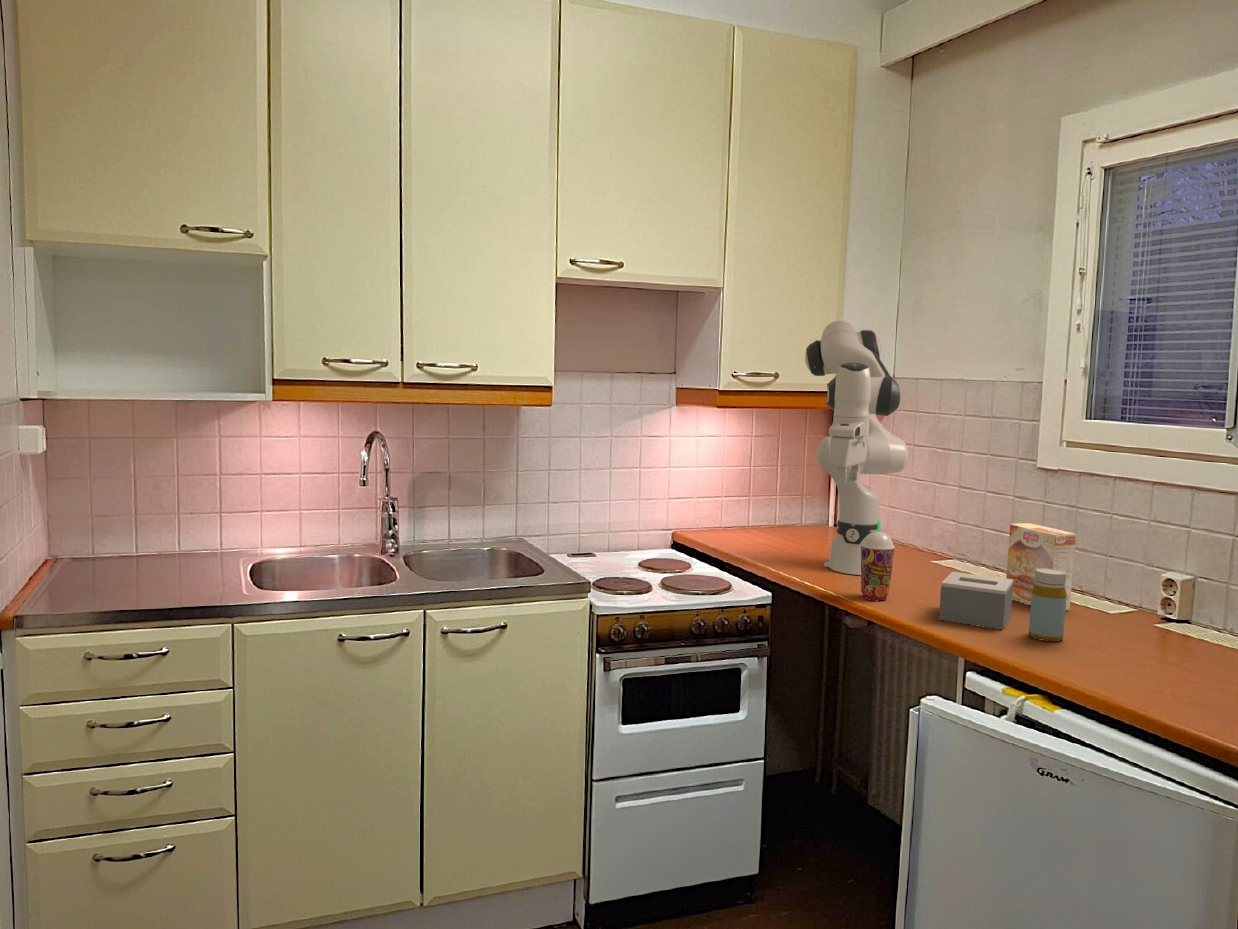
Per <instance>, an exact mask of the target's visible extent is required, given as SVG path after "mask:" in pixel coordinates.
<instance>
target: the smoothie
mask: <svg viewBox="0 0 1238 929" xmlns="http://www.w3.org/2000/svg"><path fill="white" fill-rule="evenodd" d="M881 522H882V520H879V521H878V529H877V531H875V532H871V533H870V534H868V535H867V536H866V537H865V538H864V540H863V542H862V543H861V575H860V592H861V593H862V597H863V599H865V598H867V599H870V600H869V601H871V600H884V601H886V600H887V597H888V596H889V595H890V590H891V588H890V586H891V579H892V572H893V563H894V556H895V549H896V546H895V545H894V542H893V540H892V538H891V537H890V536H889V534H887V533H885V532H883V531H881V525H880V524H881ZM867 599H866V600H867Z"/></svg>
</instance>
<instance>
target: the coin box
mask: <svg viewBox="0 0 1238 929" xmlns="http://www.w3.org/2000/svg"><path fill="white" fill-rule="evenodd" d="M1012 594H1013V579H1006V578H1004V577H995V576H990V575H989V576H988V575H983V574H982V575H981V574H974V573H966V572H958V571H952V572H951V573H949V575H947V576H946V577H945V578H944V580H942V581H941V585H940V594H939V595H940V597H939V612H938V620H939V619H940V620H945V621H944V622H947V621H951V622H950V623H953V622H957V623H956V624H960V623H962V624H961V625H966V624H973V625H979V626H984V627H983V628H986V627H991V628H990V629H992V628H996V629H995V630H999V629H1003V628H1004V629H1005V627H1006V625H1007V624H1008V622H1007V621H1009V620H1010V619H1011V617H1012V605H1013V600H1012ZM1010 616H1011V617H1010ZM1009 618H1010V619H1009ZM1008 619H1009V620H1008ZM940 620H939V621H940ZM1006 623H1007V624H1006ZM1005 624H1006V625H1005ZM973 625H972V626H973ZM979 626H978V627H979ZM1004 629H1003V630H1004Z"/></svg>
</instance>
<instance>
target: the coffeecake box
mask: <svg viewBox="0 0 1238 929" xmlns="http://www.w3.org/2000/svg"><path fill="white" fill-rule="evenodd" d="M1076 535H1077V534H1076V533H1075V532H1069V531H1065V530H1060V529H1057V528H1053V527H1049V526H1044V525H1039V524H1035V523H1031V522H1029V523H1028V522H1026V523H1018V522H1016V523H1010V524H1009V538H1008V550H1007V551H1008V552H1007V565H1006V566H1007V567H1006V578H1005V579H1013V594H1012V601H1014V600H1016V601H1015V602H1017V601H1019V602H1018V603H1020V602H1021V603H1020V604H1023V603H1024V604H1023V605H1027V606H1029V605H1031V595H1032V589H1033V587H1034V585H1035V571H1036V569H1039V568H1048V569H1056V570H1061V571H1064V572H1066V582H1065V590H1066V593H1067V599H1066V610H1068V611H1070V608H1071V595H1072V585H1073V584H1072V583H1073V571H1074V559H1075V548H1076Z"/></svg>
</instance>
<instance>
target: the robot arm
mask: <svg viewBox="0 0 1238 929" xmlns="http://www.w3.org/2000/svg"><path fill="white" fill-rule="evenodd" d="M881 353H882V344H881V341H880V339H879V337H878V336H877V335H876V333H875V332H874V331H873V330H871V329H865V330H864V329H863V330H860V331H856V329H855V328H854V327H853V326H852V325H851V324H850V323H848V321H844V320H835V321H832V322H829V324H828V325H826V326H825V327H824V330H823V331H822V334H821V339H820V340H815V341H814V342H813V341H812V343H810V344H808V346H807V347H806V348H805V353H804V354H805V355H804V360H805V361H804V362H805V365H806V367H807V369H808V370H809V371H810V373H811V374H812V375H813V376H815V377H825V376H826V375H834V374H835V376H834V377H833V378H832V379H831V380H830V381H829V382H828V383H827V384H826V385H827V387H826V388H827V393H826V394H827V395H826V402H825V404H826V406H827V407H828V408H829V409H830V410H831V411H833V419H832V420H833V421H832V424H831V425H830V426H829V428H828V436H825V437H824V438H822V440H821V441H820V442H819V445H818V446H817V448H816V459H817V462H818V465H819V466H820V467H821V468H822V470H824V471H825V472H826V473H827V474H828V475H829V476H830V477H831V479H832V480H833V481H834V483H835V485H836V488H837V492H838V499H839V501H838V502H839V510H838V512H839V515H838V516H839V517H838V520H837V522H836V523H837V524H836V533H837V534H836V535H835V536H833V537H832V538H831V541H830V549H829V557H828V559H829V560H828V561H825V562H823V567H825V568H826V567H827V568H828V567H829V568H828V569H831V570H832V571H834V572H837V573H838V572H839V573H843V574H847V575H858V576H861V543H862V542H863V540H864V538H865V537H866V536H867V535H868V534H870V533H871V532H875V531H877V529H878V521H880V505H881V504H880V502H881V499H880V495H879V493H878V492H877V491H876V490H875V489H873V488H871V487H869V486H868V485H866V484H864V483H862V478H861V476H862V475H864V474H865V475H889V474H890V475H891V474H893V473H894V474H896V473H900V472H902V470H904V469H905V468H906V466H907V465H908V464H907V463H908V461H909V457H910V455H909V449H908V446H907V444H906V443H905V441H904V439H903V440H902V439H901V438H900V437H897V436H896V435H894V434H892V433H891V432H890V431H889V430H888V429H886V428H885V427H884V426H883V425H882V423H881V422H880V420H879V419H878V417H877V416H884V417H888V416H890V415H892V414H893V413H895V411H896V410H897V409H898V408H899V407H900V403H901V389H900V385H899V383H898V382H897V381H896V380H895V378H894V377H892V376H891V375H890V373H889V372H888V370H887V368H886V366H885V365H884V363H883V361H882V360H881ZM880 526H881V524H880Z"/></svg>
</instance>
